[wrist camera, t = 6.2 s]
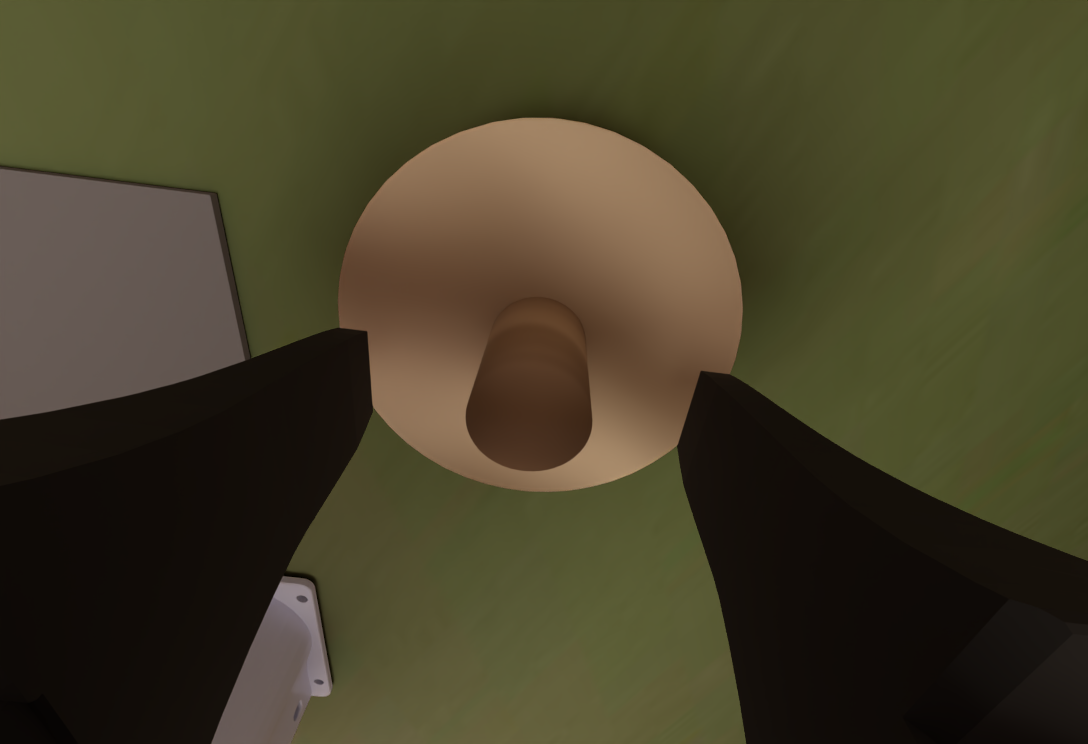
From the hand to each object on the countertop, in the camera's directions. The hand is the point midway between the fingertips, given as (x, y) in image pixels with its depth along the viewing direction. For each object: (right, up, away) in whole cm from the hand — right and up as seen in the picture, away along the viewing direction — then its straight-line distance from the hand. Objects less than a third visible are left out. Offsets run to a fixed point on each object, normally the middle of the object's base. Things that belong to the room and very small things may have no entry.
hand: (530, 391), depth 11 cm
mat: (-16, +1, +7) cm, 17 cm away
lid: (0, +2, +2) cm, 3 cm away
